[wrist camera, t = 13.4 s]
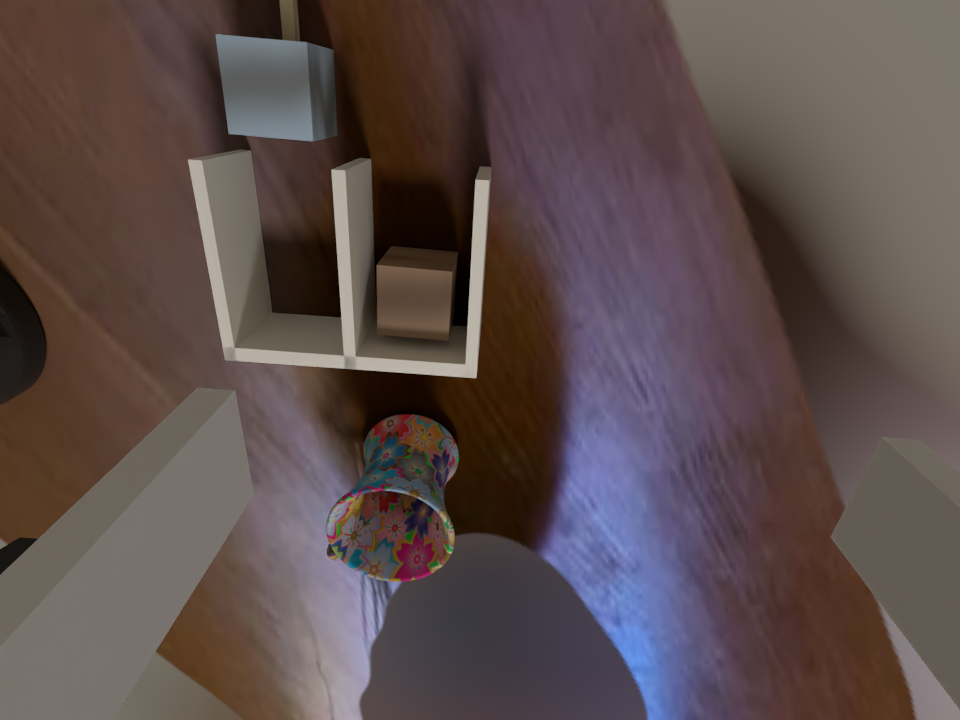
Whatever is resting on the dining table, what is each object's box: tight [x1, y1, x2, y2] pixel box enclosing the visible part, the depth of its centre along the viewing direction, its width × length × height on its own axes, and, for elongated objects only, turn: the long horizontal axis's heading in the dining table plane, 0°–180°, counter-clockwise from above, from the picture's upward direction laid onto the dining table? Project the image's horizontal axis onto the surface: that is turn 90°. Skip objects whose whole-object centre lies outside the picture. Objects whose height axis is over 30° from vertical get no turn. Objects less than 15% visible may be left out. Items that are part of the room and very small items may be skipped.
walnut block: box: [377, 246, 458, 341], centre depth 37 cm, size 5×5×5 cm
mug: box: [326, 414, 459, 582], centre depth 42 cm, size 12×9×11 cm
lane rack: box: [188, 150, 491, 378], centre depth 35 cm, size 13×17×6 cm
